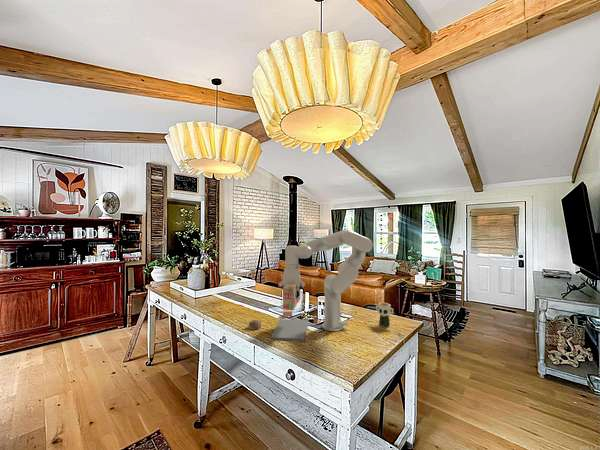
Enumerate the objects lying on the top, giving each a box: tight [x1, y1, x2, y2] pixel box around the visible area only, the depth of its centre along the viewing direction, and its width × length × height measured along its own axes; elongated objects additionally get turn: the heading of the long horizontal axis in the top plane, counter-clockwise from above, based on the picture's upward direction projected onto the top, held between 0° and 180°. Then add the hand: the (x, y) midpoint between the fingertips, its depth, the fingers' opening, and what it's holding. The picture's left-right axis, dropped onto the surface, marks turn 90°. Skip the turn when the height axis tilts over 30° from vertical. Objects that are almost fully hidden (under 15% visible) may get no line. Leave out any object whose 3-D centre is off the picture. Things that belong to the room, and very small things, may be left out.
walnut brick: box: [248, 319, 262, 330], centre depth 157 cm, size 6×4×4 cm, turn 76°
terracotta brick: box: [282, 309, 293, 318], centre depth 178 cm, size 6×4×4 cm, turn 96°
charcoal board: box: [270, 318, 310, 342], centre depth 154 cm, size 18×28×1 cm, turn 174°
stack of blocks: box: [282, 284, 301, 311], centre depth 155 cm, size 21×6×12 cm, turn 170°
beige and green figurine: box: [375, 302, 394, 327], centre depth 163 cm, size 11×7×13 cm, turn 54°
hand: (291, 297), depth 154 cm, fingers closed on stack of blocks, 6 cm apart
